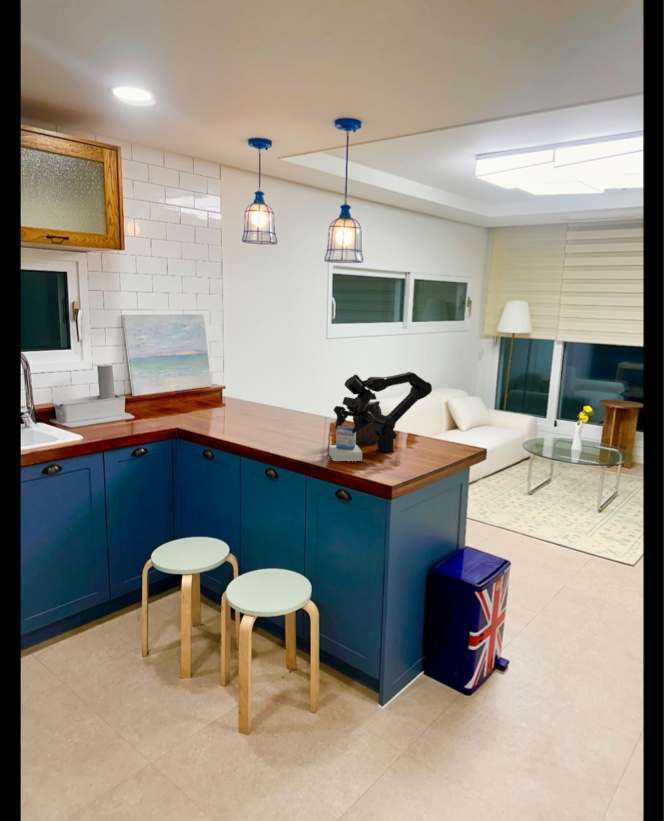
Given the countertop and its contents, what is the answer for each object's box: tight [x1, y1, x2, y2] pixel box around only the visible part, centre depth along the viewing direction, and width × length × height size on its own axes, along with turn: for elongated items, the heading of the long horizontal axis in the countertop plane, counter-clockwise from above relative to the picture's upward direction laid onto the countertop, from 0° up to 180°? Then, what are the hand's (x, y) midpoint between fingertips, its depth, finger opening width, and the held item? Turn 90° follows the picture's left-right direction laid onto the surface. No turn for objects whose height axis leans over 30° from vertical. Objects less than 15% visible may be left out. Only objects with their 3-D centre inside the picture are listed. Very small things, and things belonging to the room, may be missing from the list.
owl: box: [352, 400, 383, 446], centre depth 262 cm, size 13×13×20 cm
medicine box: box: [335, 425, 356, 449], centre depth 236 cm, size 8×4×9 cm, turn 83°
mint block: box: [328, 444, 363, 463], centre depth 237 cm, size 12×12×4 cm
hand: (344, 430), depth 234 cm, fingers closed on medicine box, 9 cm apart
